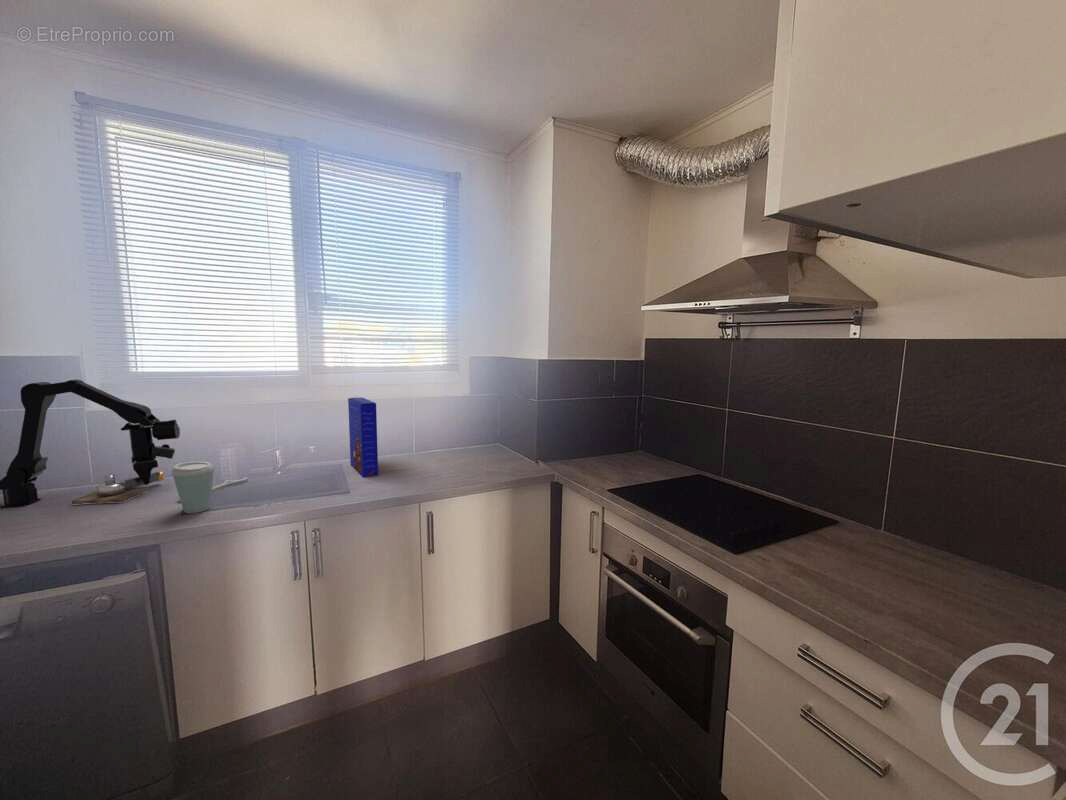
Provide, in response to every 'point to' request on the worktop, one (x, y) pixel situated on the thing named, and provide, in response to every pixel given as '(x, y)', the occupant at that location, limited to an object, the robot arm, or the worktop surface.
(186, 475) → the disposable coffee cup
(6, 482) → the robot arm
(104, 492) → the amber-knobbed lever
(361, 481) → the worktop surface
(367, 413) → the cereal box
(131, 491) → the block
